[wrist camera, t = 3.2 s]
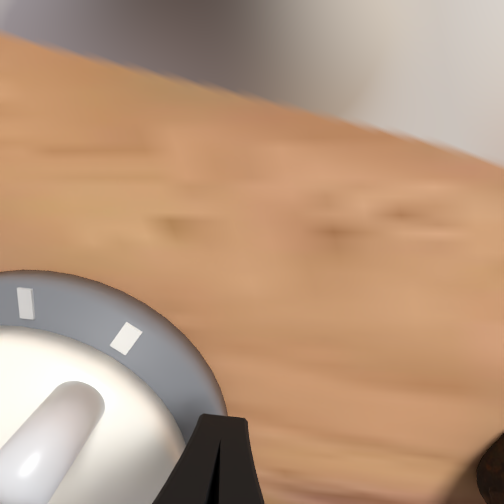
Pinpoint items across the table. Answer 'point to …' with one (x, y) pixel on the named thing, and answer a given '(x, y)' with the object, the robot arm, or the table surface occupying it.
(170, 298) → the table surface
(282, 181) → the table surface
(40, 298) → the dial base
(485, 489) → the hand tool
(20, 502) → the dial
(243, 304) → the table surface
